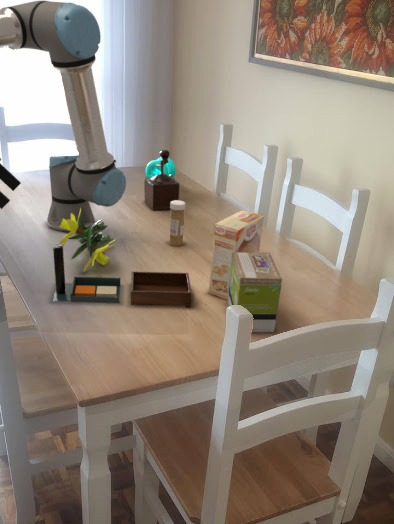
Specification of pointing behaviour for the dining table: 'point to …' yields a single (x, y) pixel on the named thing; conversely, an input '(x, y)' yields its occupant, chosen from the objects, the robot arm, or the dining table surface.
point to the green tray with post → (79, 283)
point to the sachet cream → (106, 291)
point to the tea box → (255, 288)
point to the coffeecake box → (232, 247)
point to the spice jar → (176, 222)
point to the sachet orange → (85, 290)
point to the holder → (160, 289)
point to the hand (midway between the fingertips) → (11, 195)
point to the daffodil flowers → (87, 239)
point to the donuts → (155, 170)
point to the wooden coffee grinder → (161, 187)
